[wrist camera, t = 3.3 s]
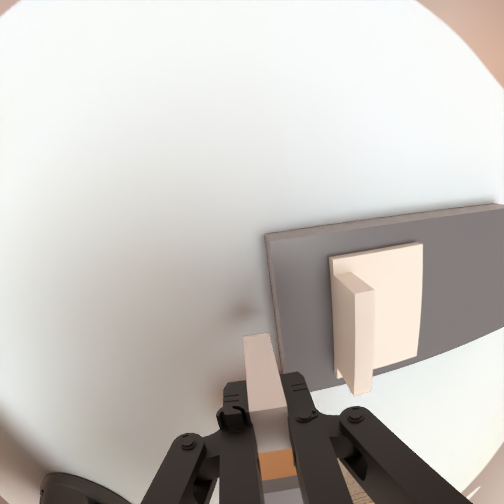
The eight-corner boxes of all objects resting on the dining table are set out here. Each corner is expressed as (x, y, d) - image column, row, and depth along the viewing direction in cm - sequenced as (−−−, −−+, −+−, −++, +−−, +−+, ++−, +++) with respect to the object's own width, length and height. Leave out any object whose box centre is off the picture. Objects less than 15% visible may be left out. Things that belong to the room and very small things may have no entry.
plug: (240, 417, 26) (249, 526, 14) (232, 380, 25) (237, 496, 13) (288, 409, 26) (317, 515, 14) (284, 372, 25) (317, 483, 13)
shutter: (334, 373, 22) (353, 407, 17) (328, 257, 20) (353, 275, 15) (411, 351, 22) (439, 378, 18) (416, 241, 20) (453, 255, 16)
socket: (282, 375, 25) (288, 396, 22) (264, 234, 22) (269, 241, 19) (487, 315, 26) (504, 326, 23) (494, 203, 23) (515, 206, 20)
